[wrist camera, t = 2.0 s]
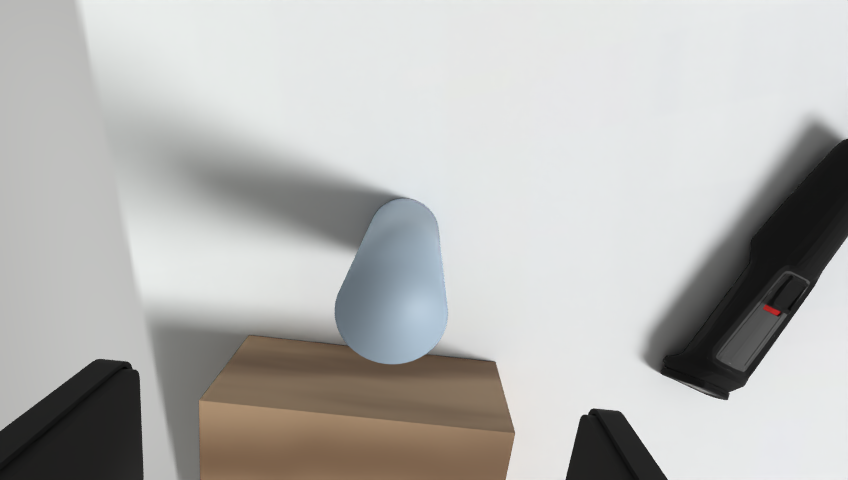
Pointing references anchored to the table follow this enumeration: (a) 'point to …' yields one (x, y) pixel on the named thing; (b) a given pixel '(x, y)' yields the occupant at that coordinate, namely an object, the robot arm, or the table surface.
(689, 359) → the electric trimmer
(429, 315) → the peg
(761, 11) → the table surface
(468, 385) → the socket block
